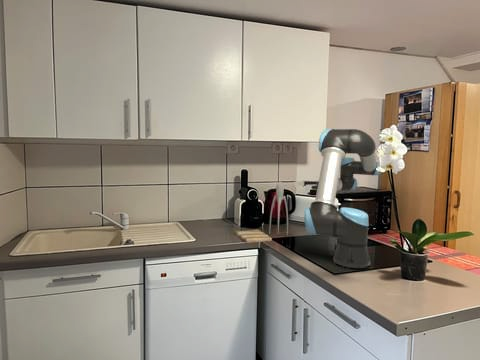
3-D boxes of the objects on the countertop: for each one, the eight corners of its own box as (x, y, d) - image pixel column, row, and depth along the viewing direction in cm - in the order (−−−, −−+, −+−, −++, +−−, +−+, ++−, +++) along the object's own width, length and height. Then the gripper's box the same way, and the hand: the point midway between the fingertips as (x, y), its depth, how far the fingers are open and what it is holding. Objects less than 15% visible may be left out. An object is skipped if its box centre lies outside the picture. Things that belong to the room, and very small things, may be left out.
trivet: (271, 240, 182) (271, 238, 182) (246, 242, 177) (246, 239, 177) (258, 232, 199) (258, 229, 199) (235, 233, 194) (235, 231, 194)
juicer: (292, 237, 191) (294, 182, 188) (277, 238, 187) (279, 182, 184) (283, 232, 200) (285, 180, 197) (269, 233, 197) (270, 180, 194)
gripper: (345, 194, 192) (311, 195, 184) (320, 188, 215) (289, 189, 208) (345, 180, 191) (311, 181, 184) (320, 175, 214) (289, 176, 207)
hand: (299, 185), depth 196 cm, fingers open, 13 cm apart
